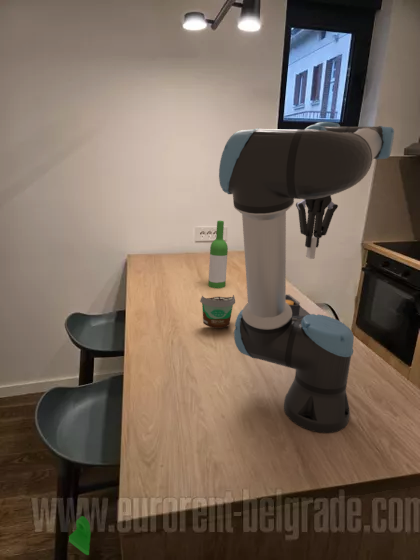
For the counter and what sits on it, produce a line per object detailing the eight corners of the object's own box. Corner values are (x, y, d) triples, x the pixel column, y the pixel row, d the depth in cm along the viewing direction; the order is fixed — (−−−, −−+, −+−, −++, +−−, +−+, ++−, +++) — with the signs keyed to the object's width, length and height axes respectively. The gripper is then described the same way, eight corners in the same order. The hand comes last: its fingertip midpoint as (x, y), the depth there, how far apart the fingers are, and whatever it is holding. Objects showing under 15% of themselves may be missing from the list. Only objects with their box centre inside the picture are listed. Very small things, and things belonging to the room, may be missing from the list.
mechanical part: (68, 541, 147) (67, 525, 145) (80, 529, 152) (79, 513, 150) (89, 558, 141) (89, 541, 139) (102, 545, 146) (101, 529, 144)
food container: (203, 330, 126) (205, 302, 123) (199, 323, 132) (200, 295, 129) (238, 328, 129) (240, 300, 126) (232, 321, 135) (234, 294, 132)
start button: (294, 311, 140) (295, 303, 139) (283, 311, 139) (284, 304, 138) (289, 307, 144) (290, 299, 143) (279, 307, 143) (279, 299, 142)
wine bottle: (228, 289, 170) (232, 222, 162) (211, 290, 167) (215, 222, 159) (221, 284, 177) (225, 219, 169) (205, 285, 174) (208, 219, 166)
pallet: (311, 319, 141) (313, 305, 139) (267, 320, 137) (269, 306, 135) (288, 300, 160) (289, 287, 159) (249, 301, 156) (250, 288, 155)
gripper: (333, 180, 117) (323, 255, 124) (294, 178, 114) (285, 254, 121) (347, 181, 110) (335, 260, 117) (305, 179, 107) (295, 260, 114)
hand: (310, 257), depth 119 cm, fingers closed
